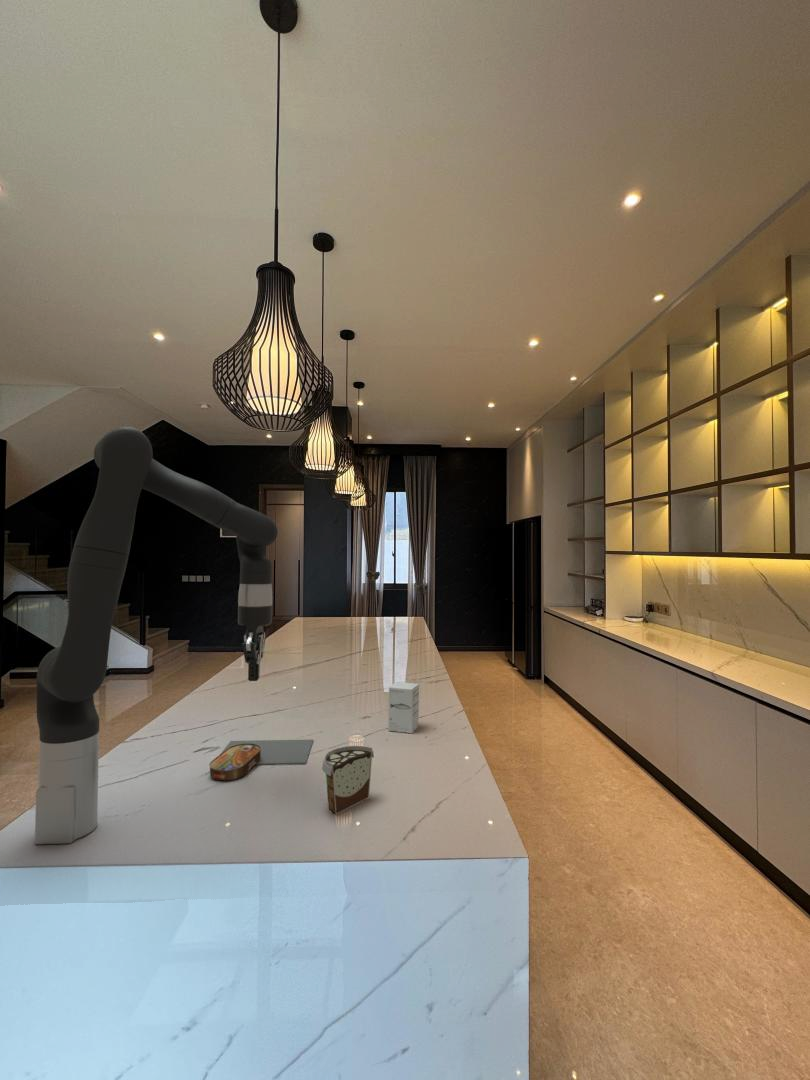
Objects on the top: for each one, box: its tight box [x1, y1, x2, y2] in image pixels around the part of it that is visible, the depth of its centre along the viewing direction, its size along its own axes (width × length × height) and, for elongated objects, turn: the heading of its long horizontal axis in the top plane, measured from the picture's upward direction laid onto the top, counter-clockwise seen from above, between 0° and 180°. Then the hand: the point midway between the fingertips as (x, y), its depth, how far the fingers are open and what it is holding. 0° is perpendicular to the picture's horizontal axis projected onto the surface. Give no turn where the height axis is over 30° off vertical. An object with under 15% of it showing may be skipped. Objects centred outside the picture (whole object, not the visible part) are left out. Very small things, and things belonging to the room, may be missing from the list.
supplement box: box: [387, 681, 420, 734], centre depth 154 cm, size 7×7×13 cm
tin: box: [209, 743, 261, 781], centre depth 125 cm, size 15×3×8 cm
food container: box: [321, 745, 375, 816], centre depth 108 cm, size 12×6×10 cm, turn 141°
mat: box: [220, 739, 314, 766], centre depth 135 cm, size 16×22×1 cm
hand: (253, 680), depth 120 cm, fingers closed
